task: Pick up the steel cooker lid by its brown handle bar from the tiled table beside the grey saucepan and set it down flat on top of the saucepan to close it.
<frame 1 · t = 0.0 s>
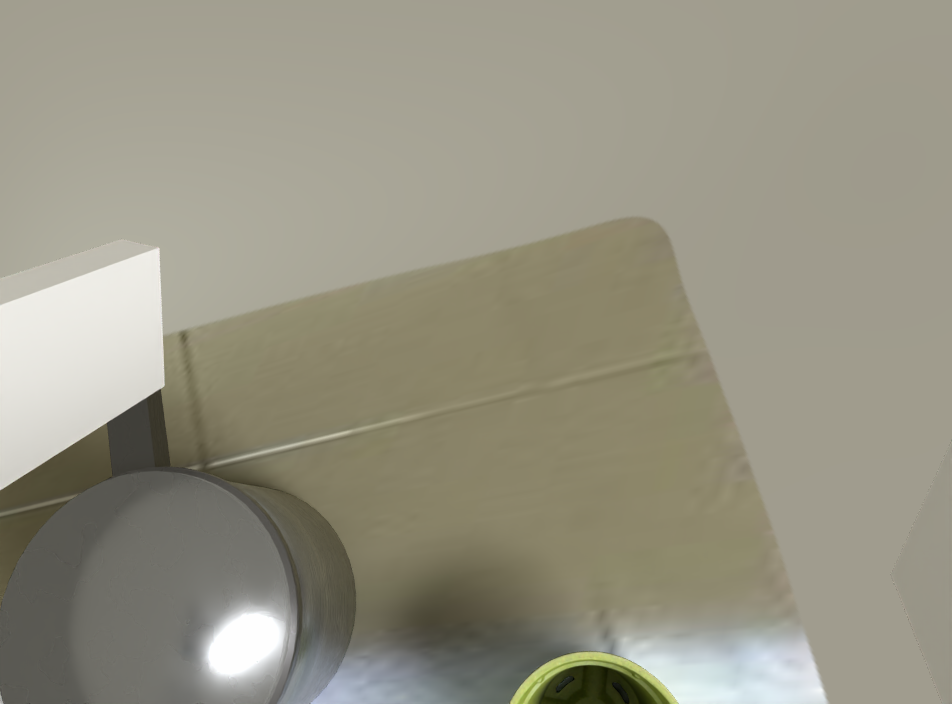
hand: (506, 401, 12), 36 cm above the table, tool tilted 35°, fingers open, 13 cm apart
grey saucepan: (242, 604, 48), on the table
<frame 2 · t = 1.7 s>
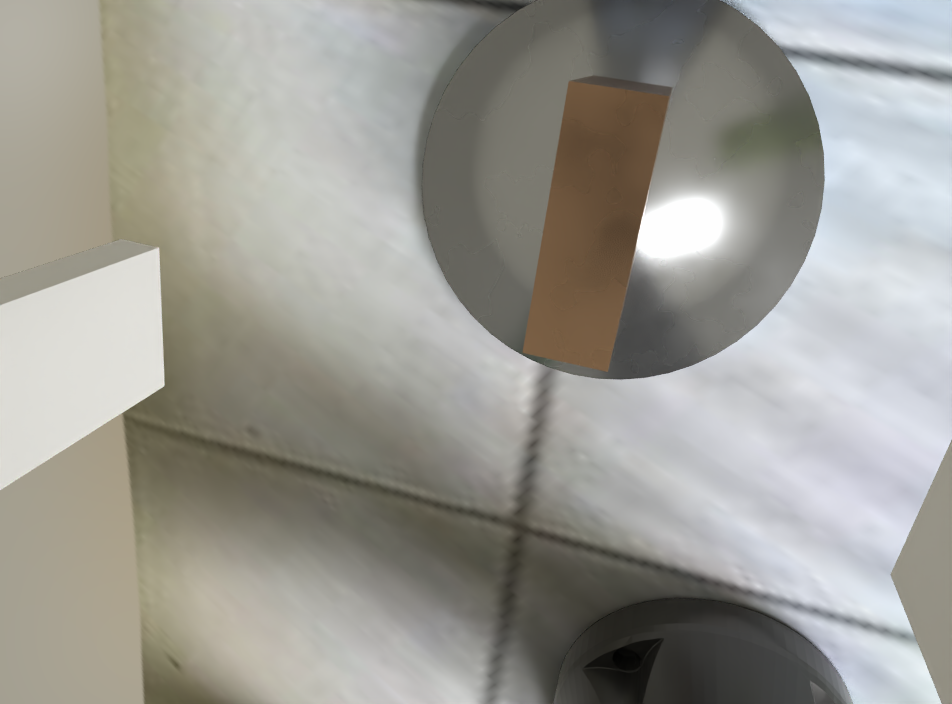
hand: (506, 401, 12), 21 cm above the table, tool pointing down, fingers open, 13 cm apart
cooker lid: (611, 193, 31), on the table
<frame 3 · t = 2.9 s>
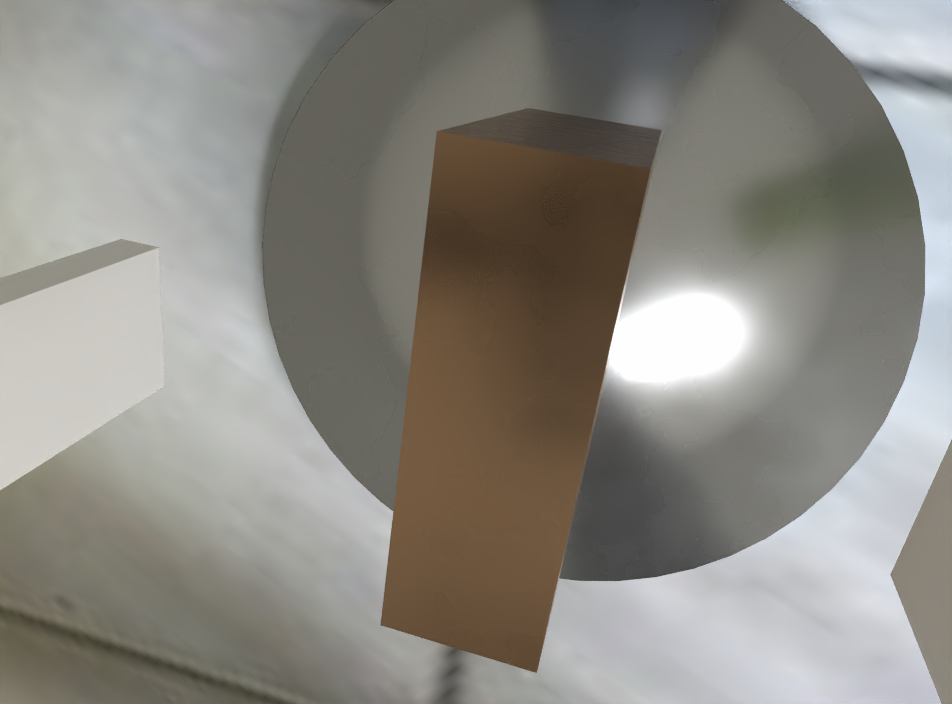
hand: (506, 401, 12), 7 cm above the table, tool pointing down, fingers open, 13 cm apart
cooker lid: (564, 294, 19), on the table
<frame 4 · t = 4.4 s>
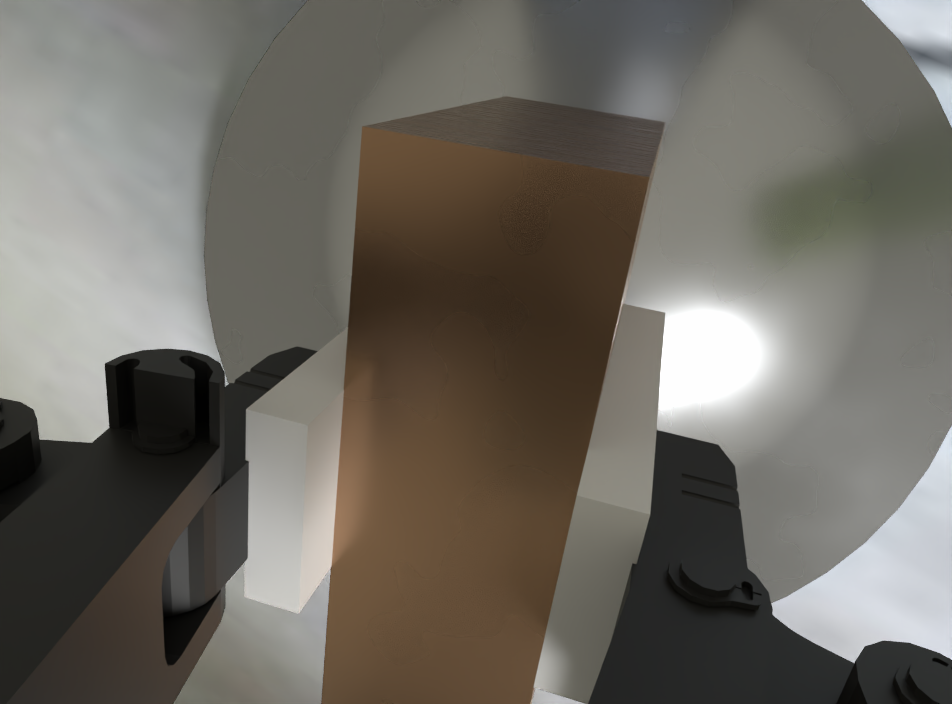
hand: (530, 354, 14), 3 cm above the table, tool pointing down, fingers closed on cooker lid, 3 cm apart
cooker lid: (552, 313, 17), on the table, touching gripper
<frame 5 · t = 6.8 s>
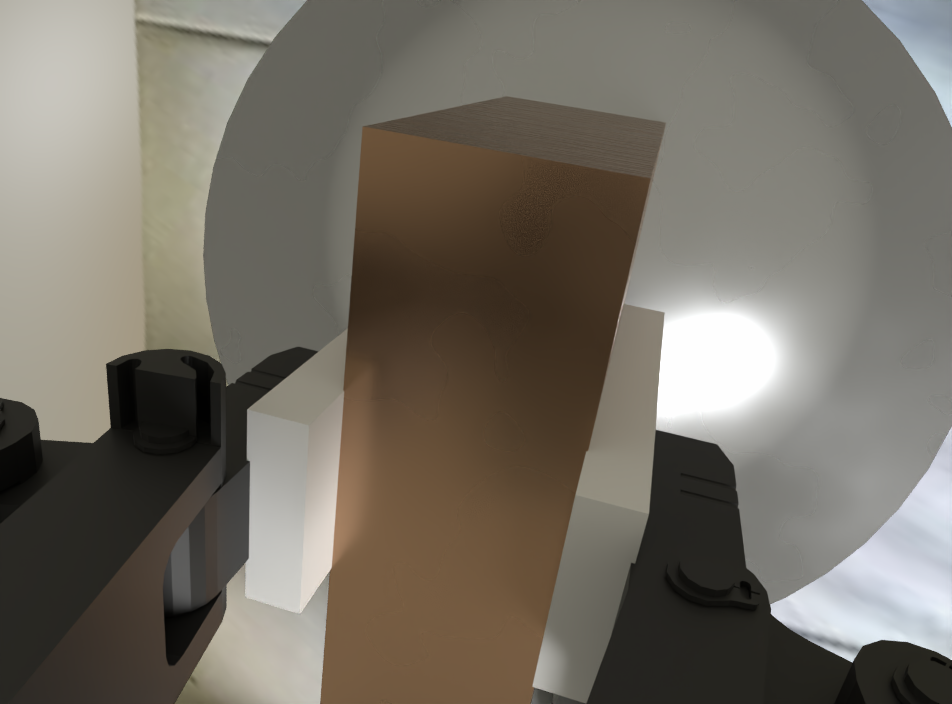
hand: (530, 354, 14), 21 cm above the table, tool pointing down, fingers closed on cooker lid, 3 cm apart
cooker lid: (552, 314, 17), point 18 cm above the table, touching gripper
when the fingers open (16 cm above the table, at t = 8.8 s): cooker lid drops 1 cm, resting on grey saucepan.
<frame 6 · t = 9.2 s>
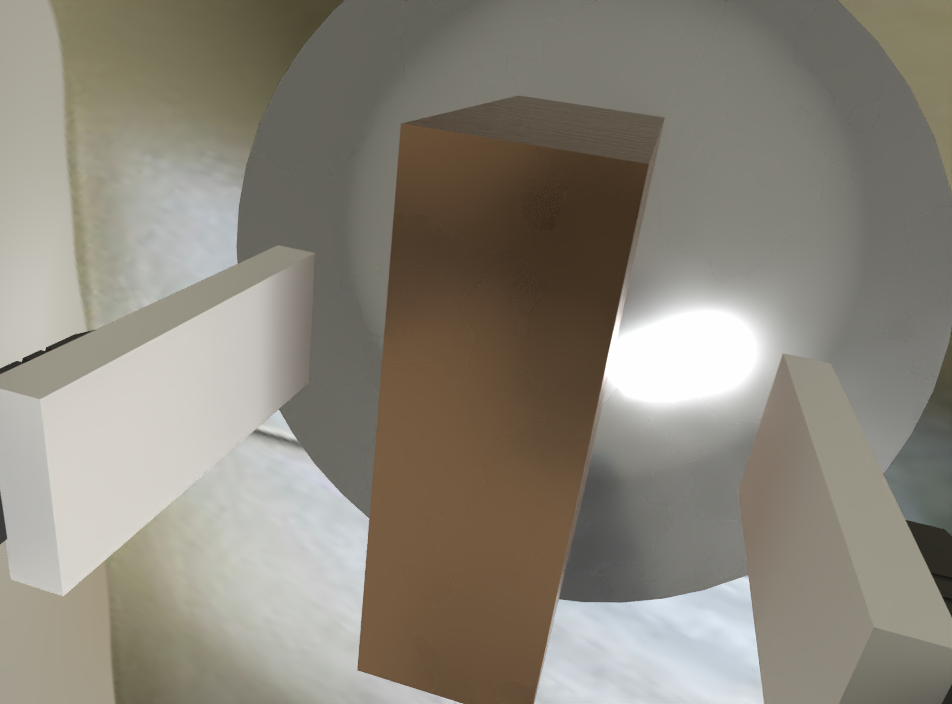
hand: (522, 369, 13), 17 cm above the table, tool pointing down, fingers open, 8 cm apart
cooker lid: (561, 297, 18), point 12 cm above the table, touching grey saucepan
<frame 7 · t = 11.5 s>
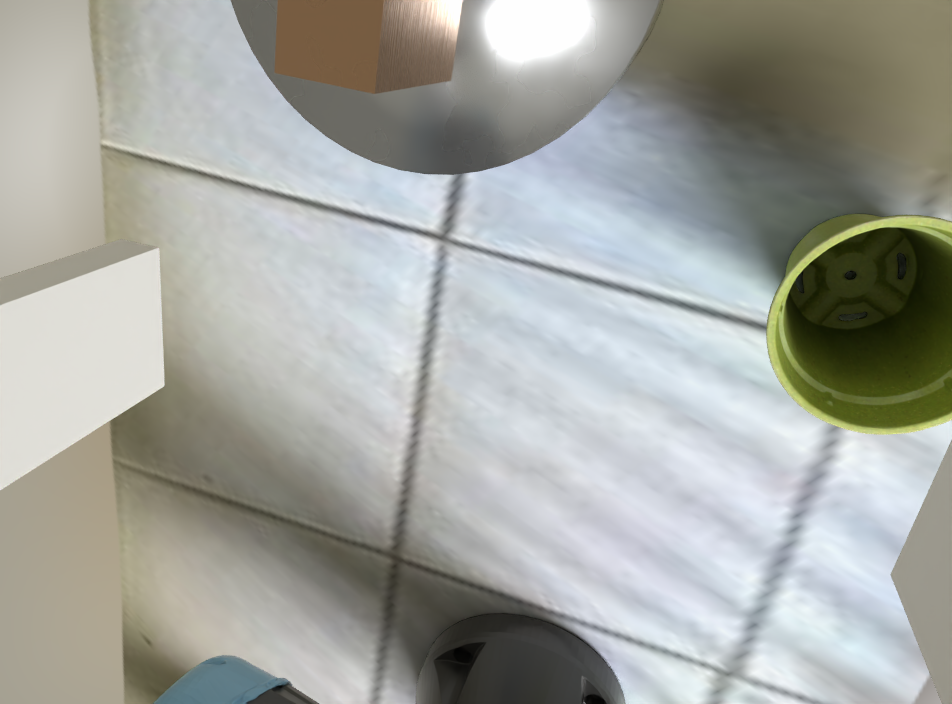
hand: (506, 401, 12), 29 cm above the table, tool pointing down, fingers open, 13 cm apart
plant pot: (850, 270, 38), on the table
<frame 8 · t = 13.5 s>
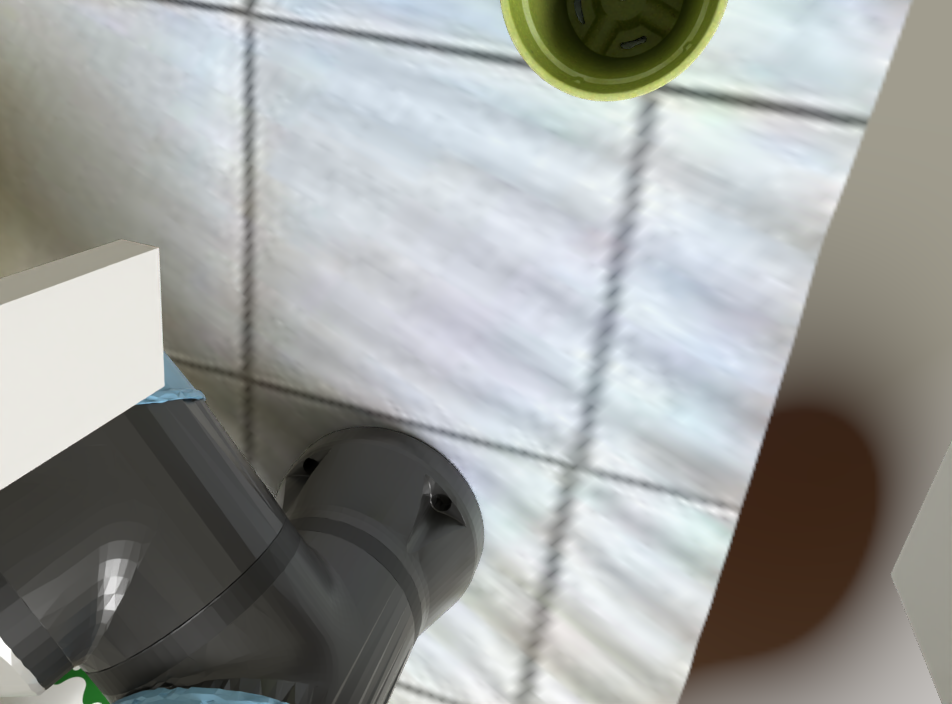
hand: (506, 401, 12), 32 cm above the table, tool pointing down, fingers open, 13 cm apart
milk carton: (135, 609, 65), on the table
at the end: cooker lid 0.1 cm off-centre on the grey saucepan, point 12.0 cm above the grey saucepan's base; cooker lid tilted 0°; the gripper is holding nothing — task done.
